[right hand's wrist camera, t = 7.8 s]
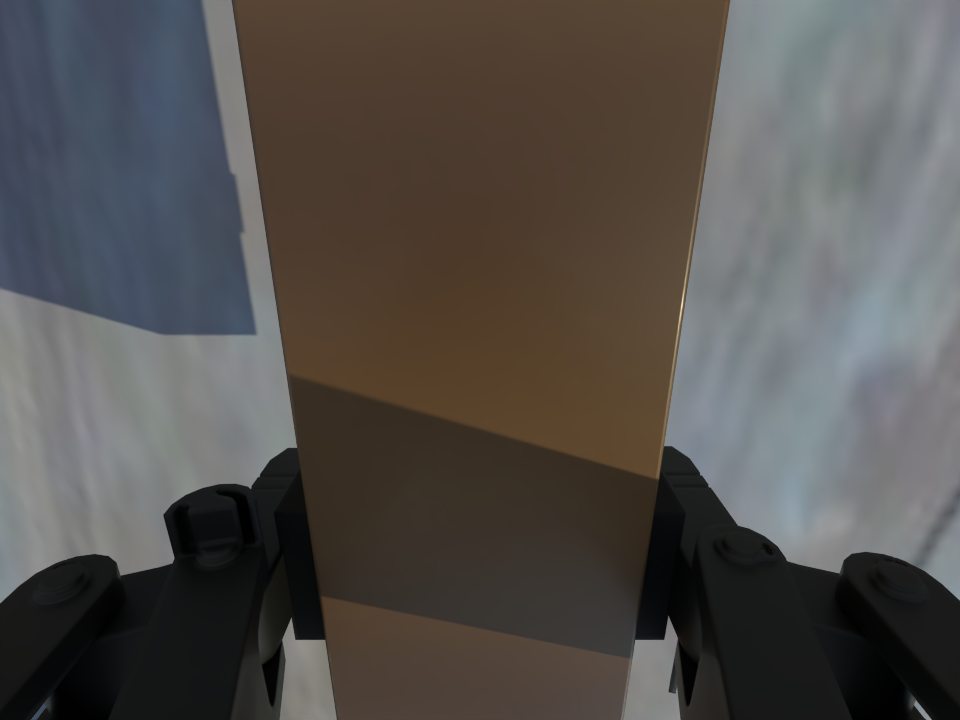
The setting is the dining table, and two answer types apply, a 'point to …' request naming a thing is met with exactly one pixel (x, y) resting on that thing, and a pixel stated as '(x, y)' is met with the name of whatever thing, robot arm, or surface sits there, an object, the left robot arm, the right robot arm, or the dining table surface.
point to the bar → (480, 327)
